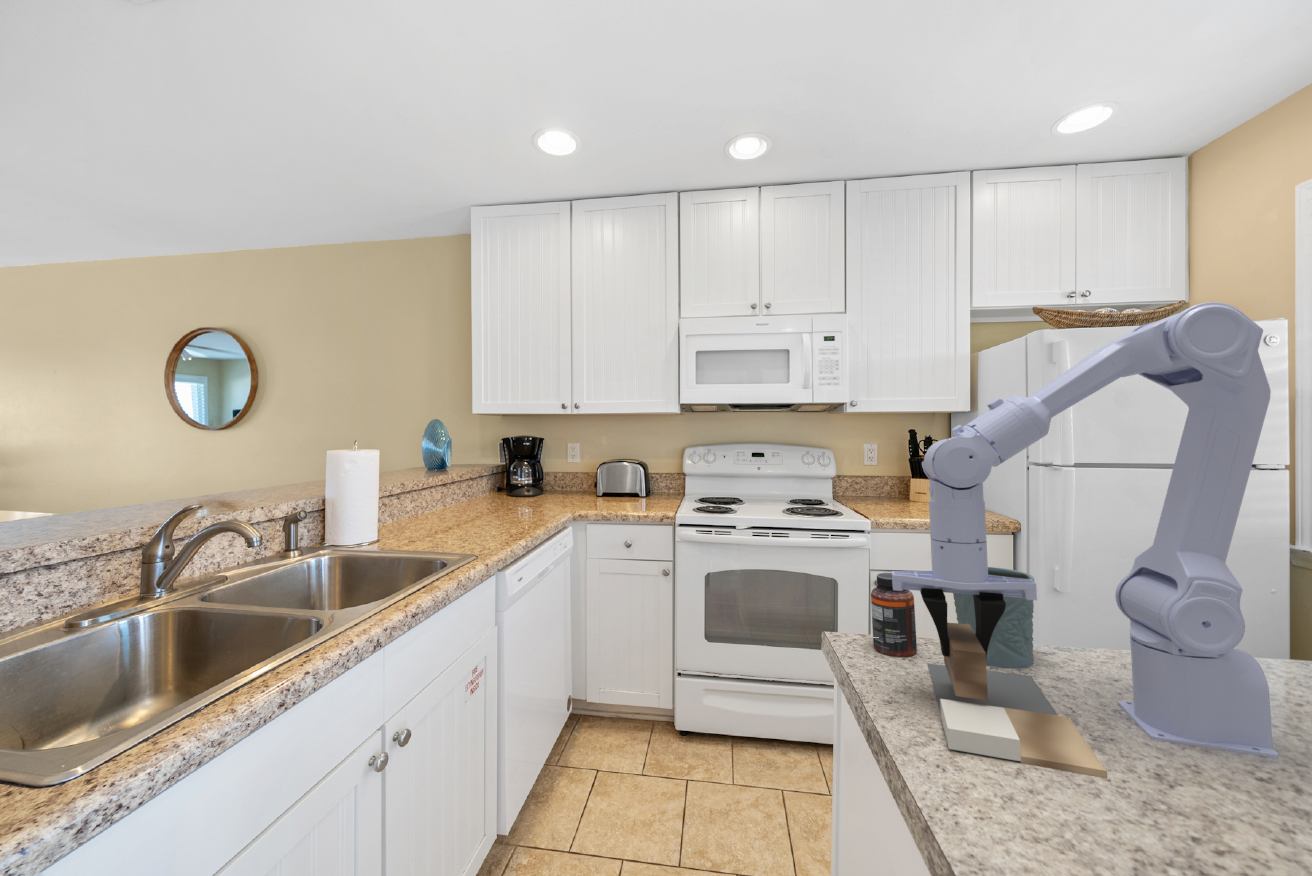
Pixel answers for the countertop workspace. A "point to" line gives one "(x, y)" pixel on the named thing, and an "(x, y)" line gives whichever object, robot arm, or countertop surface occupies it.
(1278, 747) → the countertop surface
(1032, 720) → the trivet
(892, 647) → the supplement bottle
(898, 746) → the countertop surface
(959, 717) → the tile
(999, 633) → the teal textured planter
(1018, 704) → the mat
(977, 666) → the brown rectangular block
